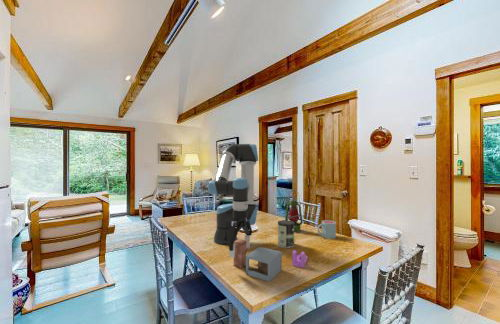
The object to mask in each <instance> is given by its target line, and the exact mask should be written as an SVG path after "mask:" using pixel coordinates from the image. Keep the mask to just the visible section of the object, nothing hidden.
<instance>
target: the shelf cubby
mask: <svg viewBox="0 0 500 324" xmlns="http://www.w3.org/2000/svg"><path fill="white" fill-rule="evenodd" d="M250 260H251V261H255V262H258V261H259V262H263V263H267V264H268V275H265V274H262V273H258V271H255V270H251V269H250V268H249V266H250ZM282 265H283V264H282V251H280V250H275V249H270V248H267V247H261V246H259V247H257V248H255V249H254V250H252V251H251V252H249V253H248V254H246V267H245V275H246V276H250V277H253V278H256V279H259V280H263V281H266V282H271V281H272V280H273V279H274V278H275V277H277V275H278V274H279V273H280V272H281V270H282Z"/></svg>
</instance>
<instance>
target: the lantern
mask: <svg viewBox="0 0 500 324" xmlns="http://www.w3.org/2000/svg"><path fill="white" fill-rule="evenodd" d="M291 192H294V193H297V194H298V195H300V193H299V192H298V191H297V190H290V191H289V192H288V194H287V195H288V196H287V198H288V199H287V202H286V205H287V206H286V210H285V216H284V217H285V218H284V220H288V221H293V222H294V223H295V224H294V234H296V233H300V232H302V229H301V226H302V225H303V223H304V222H303V221H304V220H303V214H302V207H301V205H302V203H301V201H300V197H298V199H296V198H295V197H292V198H291V199H289V197H290V193H291ZM289 200H290V202H289ZM298 202H299V203H298ZM297 206H298V207H297ZM298 221H300V222H298Z"/></svg>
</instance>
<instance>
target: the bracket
mask: <svg viewBox="0 0 500 324" xmlns="http://www.w3.org/2000/svg"><path fill="white" fill-rule="evenodd" d="M291 257H292V258H291V259H292V261H291V265H292V266H293V267H298V268H303V269H304V267H305V265H306V263H307V261H308V255H306V251H301V252H300V253H299V254H298V251H297V250H294V249H293V250H292V254H291Z"/></svg>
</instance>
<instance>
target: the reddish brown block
mask: <svg viewBox="0 0 500 324" xmlns="http://www.w3.org/2000/svg"><path fill="white" fill-rule="evenodd" d="M234 243H235V258H233V266H234V267H236V268H240V269H242V268H243V267H245V268H246V256H247V248H246V240H245V239H241V238H237V240H236V241H234ZM249 269H252V270H254V271H255V270H256V271H257V272H258V273H262V274H265V275H268V264H267V263H263V262H259V261H257V267H253V266H251V265H249Z"/></svg>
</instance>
